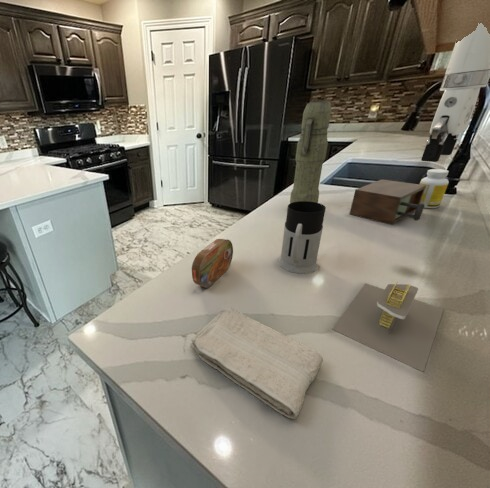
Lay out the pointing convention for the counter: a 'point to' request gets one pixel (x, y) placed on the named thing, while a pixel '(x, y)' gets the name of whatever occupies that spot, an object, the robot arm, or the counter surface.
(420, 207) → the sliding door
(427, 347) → the platform
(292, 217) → the glass holder
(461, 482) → the counter surface
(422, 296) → the counter surface
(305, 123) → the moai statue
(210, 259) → the tin
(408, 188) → the cabinet
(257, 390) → the washcloth
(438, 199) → the pill bottle
